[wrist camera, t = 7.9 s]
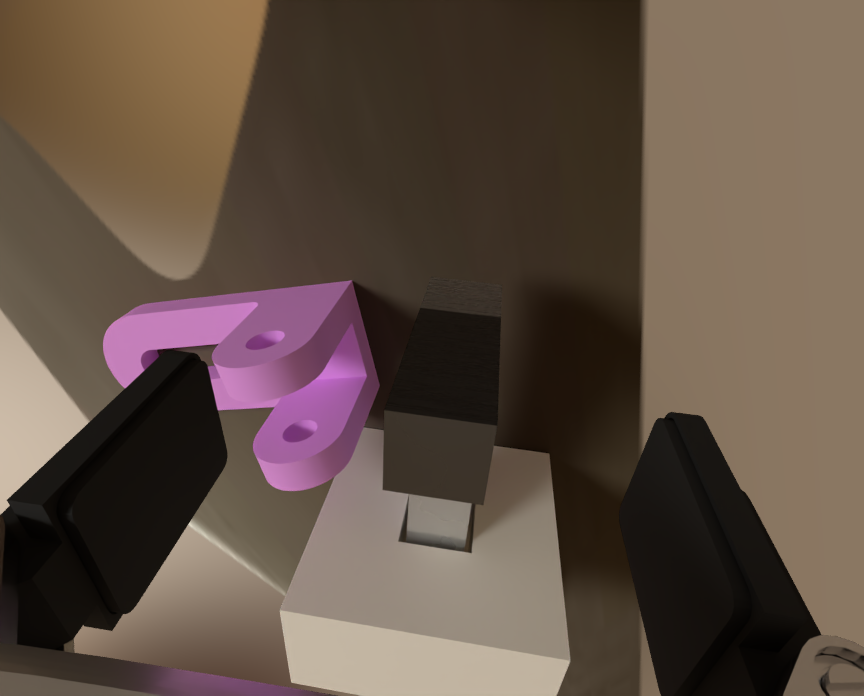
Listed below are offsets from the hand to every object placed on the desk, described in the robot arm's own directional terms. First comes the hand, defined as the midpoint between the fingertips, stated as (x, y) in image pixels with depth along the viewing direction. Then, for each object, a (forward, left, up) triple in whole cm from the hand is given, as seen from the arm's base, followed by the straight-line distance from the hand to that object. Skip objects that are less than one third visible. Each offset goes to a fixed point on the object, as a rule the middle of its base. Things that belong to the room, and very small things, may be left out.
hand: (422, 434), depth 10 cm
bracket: (+6, -10, -12) cm, 17 cm away
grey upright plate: (+6, 0, -7) cm, 10 cm away
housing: (+12, 0, -11) cm, 17 cm away
